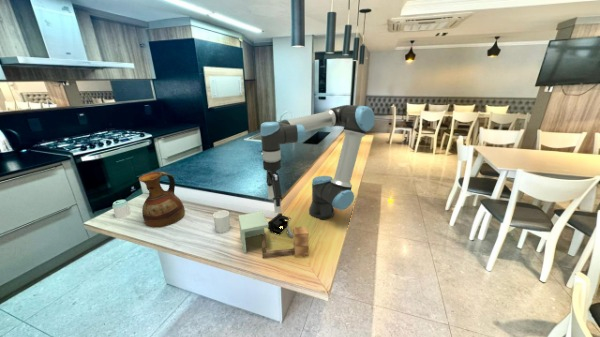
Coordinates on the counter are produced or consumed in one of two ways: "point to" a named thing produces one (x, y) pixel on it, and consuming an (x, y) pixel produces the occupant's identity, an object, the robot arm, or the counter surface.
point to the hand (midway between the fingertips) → (274, 205)
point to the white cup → (222, 221)
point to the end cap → (278, 223)
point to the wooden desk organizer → (299, 248)
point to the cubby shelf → (251, 226)
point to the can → (121, 209)
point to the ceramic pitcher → (161, 201)
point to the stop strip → (289, 232)
